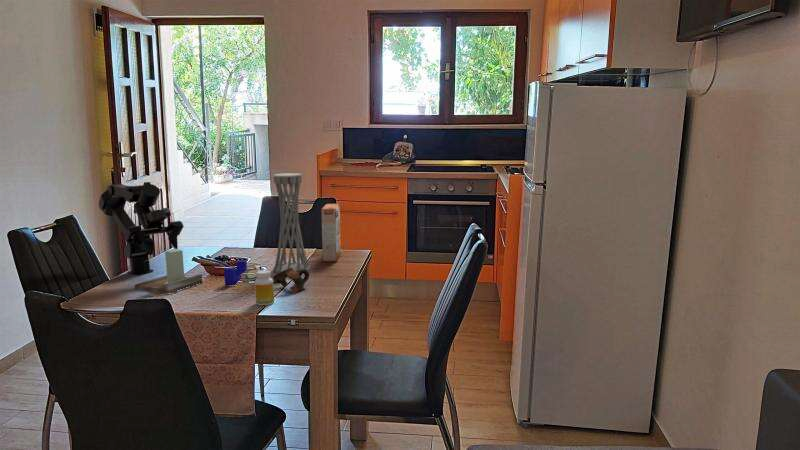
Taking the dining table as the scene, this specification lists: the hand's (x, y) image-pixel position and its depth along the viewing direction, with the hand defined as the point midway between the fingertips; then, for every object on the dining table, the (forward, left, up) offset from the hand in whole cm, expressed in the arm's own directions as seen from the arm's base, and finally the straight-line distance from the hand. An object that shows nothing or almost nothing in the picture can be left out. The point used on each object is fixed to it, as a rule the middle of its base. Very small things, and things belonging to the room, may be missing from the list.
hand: (163, 251), depth 200 cm
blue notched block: (+20, +12, -11) cm, 26 cm away
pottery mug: (+44, +13, -11) cm, 47 cm away
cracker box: (+31, +55, -11) cm, 64 cm away
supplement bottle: (+46, -3, -11) cm, 47 cm away
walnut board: (+4, -2, -11) cm, 12 cm away
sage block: (+7, -2, -10) cm, 12 cm away
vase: (+28, +33, -11) cm, 44 cm away
